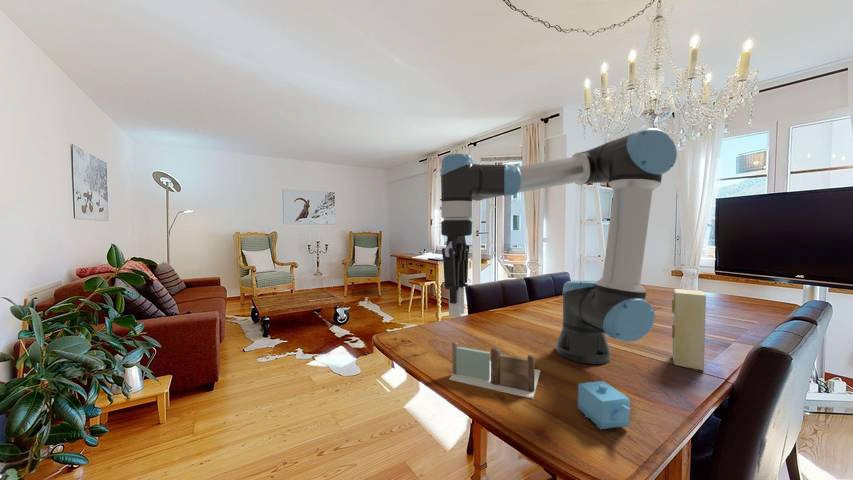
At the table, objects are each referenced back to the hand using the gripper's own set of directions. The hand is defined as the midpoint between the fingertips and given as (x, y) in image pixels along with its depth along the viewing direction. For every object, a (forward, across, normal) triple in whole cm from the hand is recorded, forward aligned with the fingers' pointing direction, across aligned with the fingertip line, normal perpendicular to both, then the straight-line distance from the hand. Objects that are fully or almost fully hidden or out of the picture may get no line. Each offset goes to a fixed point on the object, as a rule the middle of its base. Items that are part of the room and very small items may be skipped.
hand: (456, 314), depth 78 cm
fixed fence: (+18, -5, +13) cm, 23 cm away
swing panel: (+18, -5, +2) cm, 19 cm away
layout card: (+18, -10, +8) cm, 22 cm away
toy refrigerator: (+19, -42, +56) cm, 72 cm away
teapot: (+19, 0, +32) cm, 38 cm away
